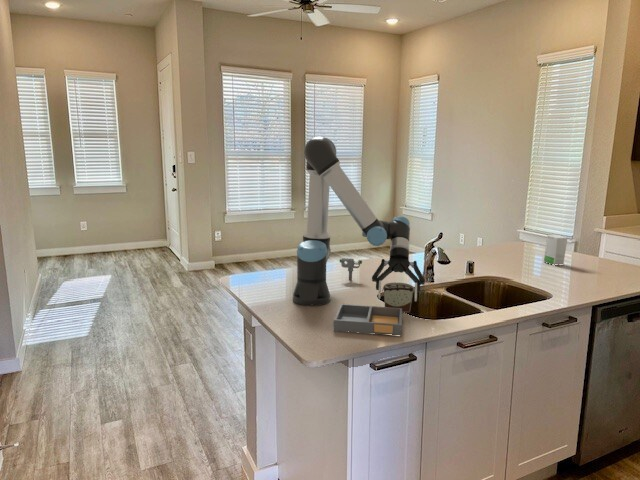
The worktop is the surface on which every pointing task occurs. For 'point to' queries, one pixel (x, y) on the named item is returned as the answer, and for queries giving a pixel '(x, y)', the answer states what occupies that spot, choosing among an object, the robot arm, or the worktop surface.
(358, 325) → the organizer
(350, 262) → the mechanical component
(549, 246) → the skincare box
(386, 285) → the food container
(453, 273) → the worktop surface
